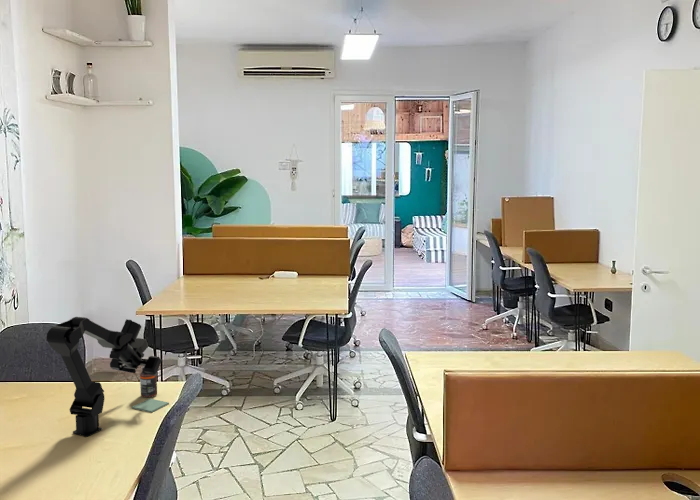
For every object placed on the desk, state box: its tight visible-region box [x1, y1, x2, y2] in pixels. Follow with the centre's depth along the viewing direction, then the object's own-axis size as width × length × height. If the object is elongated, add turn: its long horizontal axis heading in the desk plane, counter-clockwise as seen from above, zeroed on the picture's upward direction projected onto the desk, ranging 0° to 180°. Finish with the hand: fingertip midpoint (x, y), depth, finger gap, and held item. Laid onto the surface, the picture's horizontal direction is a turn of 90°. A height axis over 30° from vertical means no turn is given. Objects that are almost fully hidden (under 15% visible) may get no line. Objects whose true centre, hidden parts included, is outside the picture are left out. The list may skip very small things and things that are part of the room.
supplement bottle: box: [139, 366, 158, 399], centre depth 239 cm, size 6×6×11 cm
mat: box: [131, 397, 170, 414], centre depth 230 cm, size 9×9×1 cm
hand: (145, 373), depth 237 cm, fingers open, 9 cm apart
